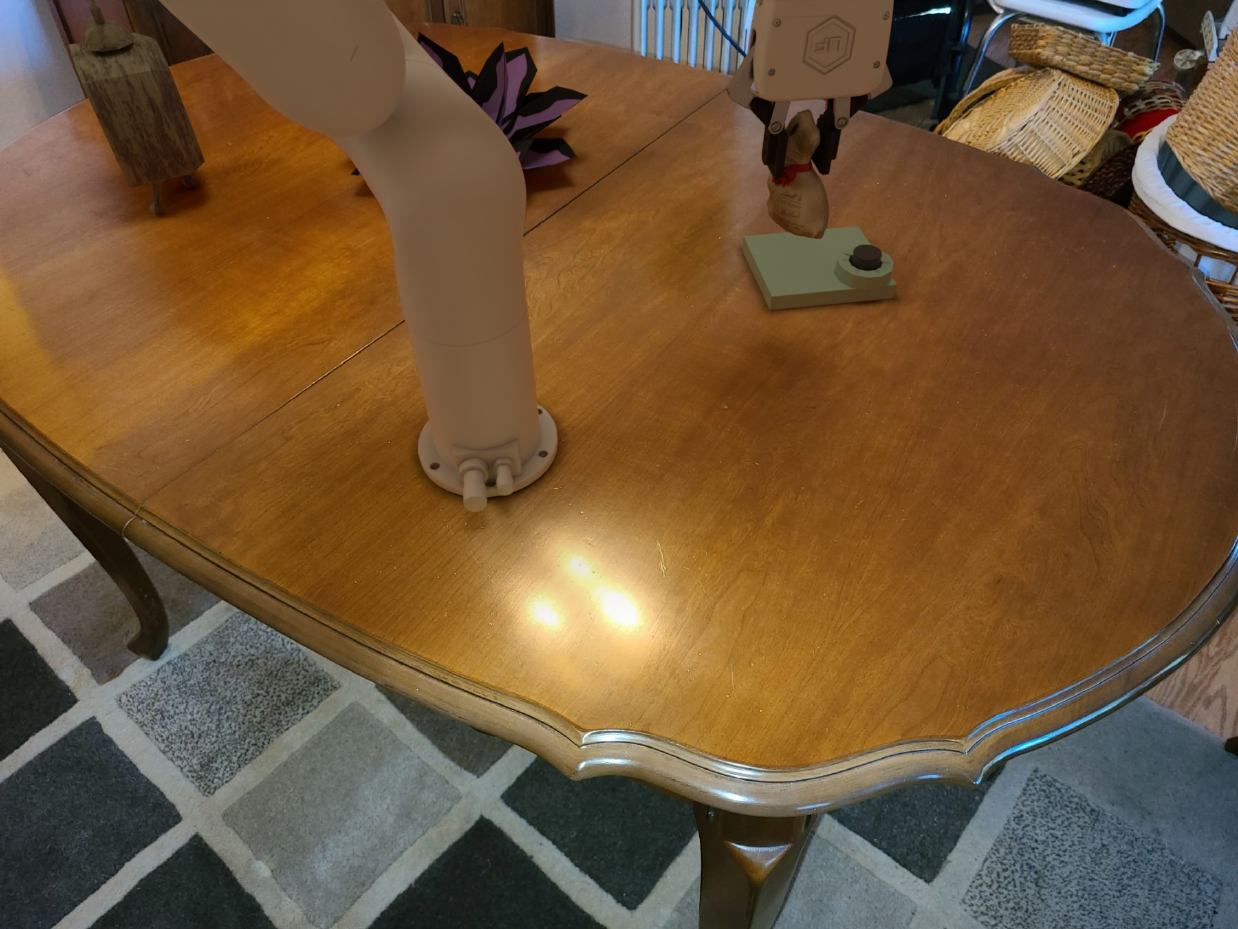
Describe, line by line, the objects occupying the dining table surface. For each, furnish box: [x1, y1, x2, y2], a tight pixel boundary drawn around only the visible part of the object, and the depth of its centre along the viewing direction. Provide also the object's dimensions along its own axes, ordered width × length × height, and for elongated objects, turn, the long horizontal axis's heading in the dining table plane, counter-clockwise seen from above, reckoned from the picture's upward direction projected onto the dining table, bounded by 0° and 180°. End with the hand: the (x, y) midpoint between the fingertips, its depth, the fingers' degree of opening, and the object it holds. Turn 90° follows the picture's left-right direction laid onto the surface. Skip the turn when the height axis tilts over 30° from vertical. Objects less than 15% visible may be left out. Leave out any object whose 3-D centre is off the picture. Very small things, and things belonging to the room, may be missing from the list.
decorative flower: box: [349, 31, 589, 177], centre depth 108 cm, size 32×32×15 cm
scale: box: [741, 225, 898, 311], centre depth 94 cm, size 12×14×4 cm
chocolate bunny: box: [766, 108, 830, 239], centre depth 72 cm, size 6×8×10 cm
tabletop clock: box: [68, 0, 206, 216], centre depth 99 cm, size 14×9×25 cm, turn 30°
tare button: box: [851, 244, 883, 271], centre depth 91 cm, size 3×3×2 cm
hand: (797, 167), depth 73 cm, fingers closed on chocolate bunny, 3 cm apart
